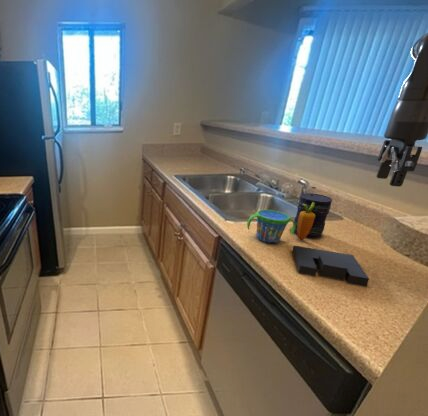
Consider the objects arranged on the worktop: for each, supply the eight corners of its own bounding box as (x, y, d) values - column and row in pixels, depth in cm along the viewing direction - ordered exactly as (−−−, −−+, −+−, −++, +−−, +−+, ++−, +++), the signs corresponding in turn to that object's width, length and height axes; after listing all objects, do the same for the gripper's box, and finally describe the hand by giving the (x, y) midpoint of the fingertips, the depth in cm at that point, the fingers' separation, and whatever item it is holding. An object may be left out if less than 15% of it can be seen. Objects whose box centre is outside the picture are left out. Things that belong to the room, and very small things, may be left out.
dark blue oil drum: (327, 239, 103) (341, 194, 96) (298, 237, 105) (310, 193, 98) (313, 228, 112) (325, 186, 106) (287, 227, 114) (297, 185, 107)
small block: (338, 270, 84) (342, 259, 83) (343, 280, 80) (347, 268, 78) (316, 266, 87) (319, 255, 85) (320, 275, 82) (323, 264, 80)
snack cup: (288, 236, 106) (295, 212, 102) (294, 249, 97) (301, 223, 93) (244, 230, 112) (248, 207, 108) (245, 241, 102) (250, 216, 99)
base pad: (350, 261, 89) (352, 255, 88) (366, 286, 77) (369, 278, 76) (292, 251, 95) (293, 245, 94) (298, 272, 84) (300, 265, 83)
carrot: (294, 242, 101) (304, 204, 96) (290, 236, 106) (300, 200, 100) (310, 244, 100) (321, 205, 95) (305, 238, 104) (316, 201, 99)
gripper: (449, 121, 61) (420, 190, 67) (416, 118, 73) (394, 177, 79) (404, 121, 64) (380, 187, 70) (379, 118, 76) (360, 174, 82)
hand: (387, 181), depth 74 cm, fingers open, 8 cm apart
